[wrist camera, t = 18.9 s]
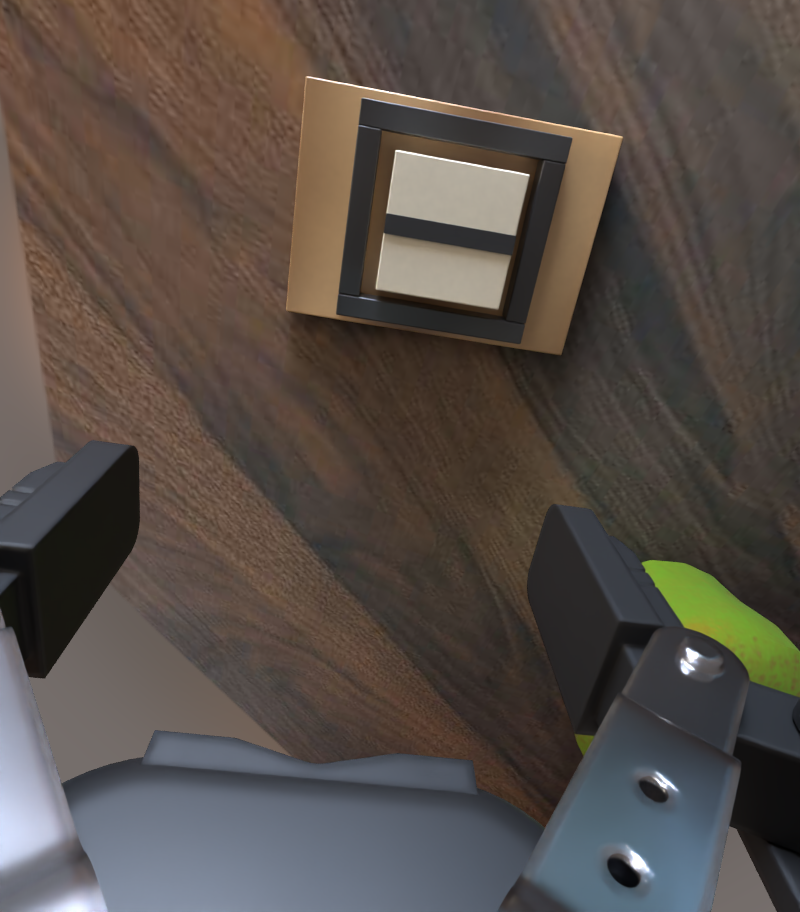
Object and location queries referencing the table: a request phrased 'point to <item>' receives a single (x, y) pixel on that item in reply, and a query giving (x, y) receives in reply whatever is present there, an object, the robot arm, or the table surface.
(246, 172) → the table surface
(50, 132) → the table surface
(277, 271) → the table surface
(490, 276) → the ivory pad
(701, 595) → the apple
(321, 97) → the base pad
